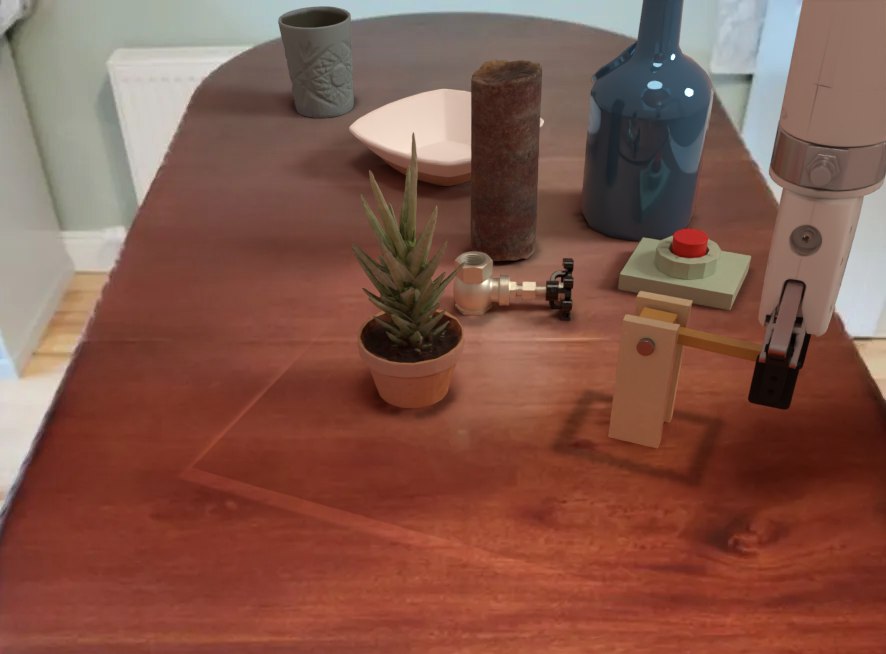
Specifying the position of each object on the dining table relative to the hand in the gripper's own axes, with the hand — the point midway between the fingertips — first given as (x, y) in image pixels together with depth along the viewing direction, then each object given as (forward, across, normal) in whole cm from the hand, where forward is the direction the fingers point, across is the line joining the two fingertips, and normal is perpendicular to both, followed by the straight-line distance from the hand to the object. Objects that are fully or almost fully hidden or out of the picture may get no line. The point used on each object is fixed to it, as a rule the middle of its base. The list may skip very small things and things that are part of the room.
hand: (775, 382), depth 80 cm
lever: (-1, 0, +6) cm, 6 cm away
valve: (+8, +15, +28) cm, 33 cm away
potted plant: (+8, -2, +31) cm, 32 cm away
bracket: (+8, 0, +10) cm, 13 cm away
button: (+5, +29, +13) cm, 32 cm away
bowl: (+8, +49, +50) cm, 70 cm away
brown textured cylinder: (+8, +28, +34) cm, 45 cm away
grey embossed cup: (+8, +61, +75) cm, 97 cm away
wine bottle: (+9, +42, +23) cm, 48 cm away
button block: (+9, +29, +14) cm, 33 cm away
